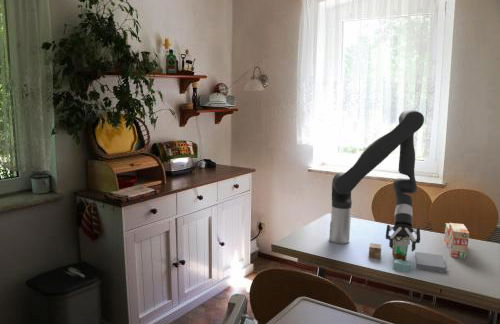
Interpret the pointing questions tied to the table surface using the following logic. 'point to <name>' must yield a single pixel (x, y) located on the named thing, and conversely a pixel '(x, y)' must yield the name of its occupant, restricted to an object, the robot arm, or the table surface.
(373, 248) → the walnut block
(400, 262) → the teal block
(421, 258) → the slate board
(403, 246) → the food container
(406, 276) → the table surface
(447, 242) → the stack of blocks
